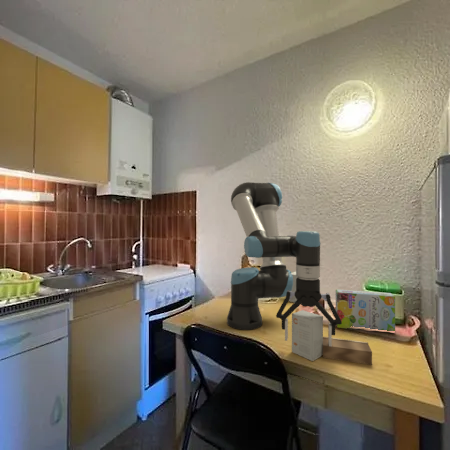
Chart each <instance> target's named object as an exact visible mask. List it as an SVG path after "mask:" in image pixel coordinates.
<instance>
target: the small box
mask: <svg viewBox="0 0 450 450" xmlns="http://www.w3.org/2000/svg"><path fill="white" fill-rule="evenodd" d="M323 326H324V315H320V314H317V313H313V312H309V311H307V310H303V309H301V310H299V311H296V312H292V313H291V352H292V353H293V354H296V355H298V356H300V357H302V358H304V359H307V360H309V361H311V362H314V361H315V360H317V359H319V358H321V357H323V337H324V327H323Z"/></svg>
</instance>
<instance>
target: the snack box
mask: <svg viewBox="0 0 450 450" xmlns="http://www.w3.org/2000/svg"><path fill="white" fill-rule="evenodd" d="M335 310H336V312H337V313H338V315H339V317H340V319H341V322H342V324H338V325H336V328H338V329H347V328H350V327H351V326H352V327H353V326H354V327H365V328H370V329H378V330H387V331H395V332H396V296H395V295H394V294H393V293H391V292H383V291H382V292H381V291H380V292H379V291H365V290H351V289H350V290H349V289H335ZM347 330H348V329H347Z"/></svg>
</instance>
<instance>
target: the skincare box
mask: <svg viewBox="0 0 450 450" xmlns="http://www.w3.org/2000/svg"><path fill="white" fill-rule="evenodd" d="M291 274H292V276H293V287H292V290H291V291H292V292H296V278H297V276H296V270H295V271H293V272H292V271H291ZM296 301H297V299H296V297H295V296H293V297H292V298H289V301H288V302H290V303H293V304H294V303H295V302H296Z"/></svg>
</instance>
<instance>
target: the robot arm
mask: <svg viewBox="0 0 450 450" xmlns="http://www.w3.org/2000/svg"><path fill="white" fill-rule="evenodd" d="M282 199H283V193H282V189H281V188H280V186H279V185H278V184H276V183H271V182H249V181H248V182H243V183H240V184H239V185H238V186H236V187H235V188H234V189H233V191H232V193H231V196H230V202H231V206H232V208H233V209H234V210H235V211H236V212H237V215H238V218H239V220H240V224H241V226H242V228H243V231H244V233H245V236H246V238H245V239H244V241H243V243H244V244H243V249H244V254H245V255H246V257H248V258H256V259H260V258H261V259H262V264H261V265H260V266H259V269H258V268H257V267H247V266H246V267H241V268H238V269H235V270H233V271H232V273H231V276H230V277H231V278H230V286H231V287H230V300H231V301H230V308H229V310H228V314H227V317H226V324H227V326H229V327H230V328H233V329H236V330H243V331H244V330H245V331H248V330H255V329H259V328H260V327H261V326H262V325H263V316H262V313H261V310H260V308H259V307H260V306H259V299H270V298H271V299H272V298H273V299H274V298H284V300H283V302H282V303H281V305H280V307H279V309H278V311H277V313H276V315H275V317H276V318H277V319H280V320H281V329H282V330H283V331H284V341H286V342H288V338H289V337H288V336H289V328H288V327H289V322H288V321H289V317H290V315H292V314H293V313H294V311H295V310H296V309H297V308H298V307H299V306H302V307H309V308H313V307H315V308H317V310H319V312H320V313H321V314H322V316H323V317H324V318H325V319H326V320H327V321H328V322H329V323H328V328H327V330H328V331H327V332H328V336H327V337H328V344H329V346H331V347H332V338H333V337H332V336H335V335H336V327H337V325H338V324H342V322H341V319H340V317H339V315H338V313H337V312H336V307H335V306H334V304H333V302H332V301H331V295H330V293H329V292H326V293H321V282H320V281H321V280H320V278H321V239H320V237H321V235H320V233H319V231H315V230H311V231H309V230H303V231H302V230H301V231H297V233H296V234H295V235H287V236H285V235H283V236H282V235H281V236H280V235H279V226H278V218H277V212H278V210H279V209H280V208H279V207H280V206H281V205H282V202H283V200H282ZM287 257H289V258H290V257H293V258H295V261H296V262H295V265H296V267H295V271H296V276H297V278H296V292H292V291H291V290H292V287H293V276H292V274H291V273H292V271H291V270H290V269H287V264H285V263H284V262H283V259H282V258H287ZM293 296H295V297H296V299H297V301H296V302H295V303H294V302H293V303H292V305H291V306H289V308H288V309H287V310H286V311H285V312H284V310H285V308H286V306H287V305H288V303H289V302H290V301H289V298H292V297H293ZM321 299H323V300H324V302H326V303H327V305H328V308H329V309H330V311H331V313H332V315H333V317H332V316H331V314H329V312H328V311H327V310H326V309H325V307H324V306H323V305H322V304H321V302H320V300H321ZM282 313H283V314H282ZM334 318H335V319H334Z"/></svg>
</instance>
